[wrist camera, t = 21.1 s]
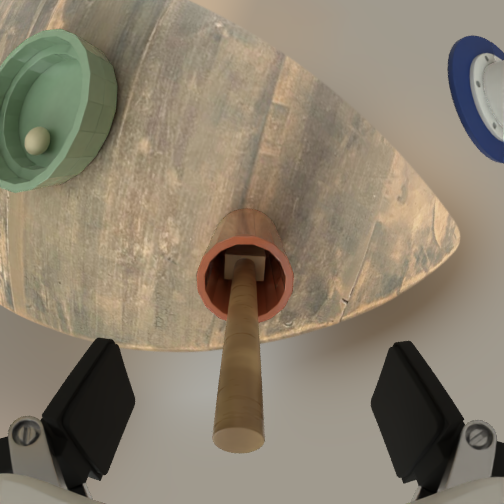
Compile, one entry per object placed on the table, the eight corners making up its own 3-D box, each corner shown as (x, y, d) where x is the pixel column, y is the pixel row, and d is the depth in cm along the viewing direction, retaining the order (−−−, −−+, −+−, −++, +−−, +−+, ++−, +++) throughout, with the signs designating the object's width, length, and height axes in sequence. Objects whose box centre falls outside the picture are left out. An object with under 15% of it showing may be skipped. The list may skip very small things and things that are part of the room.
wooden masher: (262, 238, 26) (292, 423, 7) (261, 259, 27) (283, 457, 8) (229, 236, 26) (186, 418, 7) (228, 257, 27) (192, 452, 8)
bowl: (126, 31, 20) (101, 7, 14) (118, 176, 25) (87, 182, 19) (19, 69, 20) (-12, 61, 14) (13, 191, 25) (-21, 199, 19)
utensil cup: (278, 208, 26) (296, 236, 16) (276, 269, 28) (290, 324, 18) (214, 208, 26) (194, 236, 16) (216, 268, 28) (200, 323, 18)
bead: (51, 142, 24) (37, 164, 23) (32, 129, 22) (17, 151, 20) (58, 131, 22) (43, 154, 21) (38, 116, 20) (21, 139, 19)
